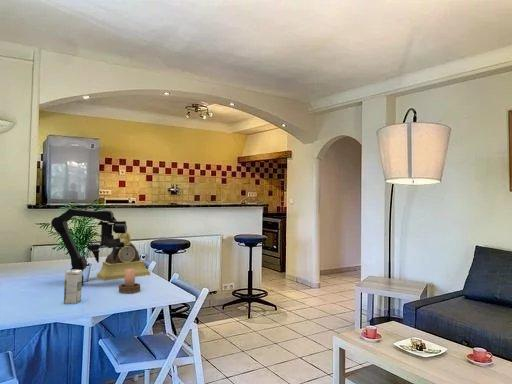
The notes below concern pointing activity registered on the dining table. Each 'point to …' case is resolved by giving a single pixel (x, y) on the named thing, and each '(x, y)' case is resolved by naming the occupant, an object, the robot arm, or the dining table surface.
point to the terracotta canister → (130, 277)
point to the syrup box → (72, 286)
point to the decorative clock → (123, 261)
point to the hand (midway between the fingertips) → (106, 261)
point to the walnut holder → (129, 289)
